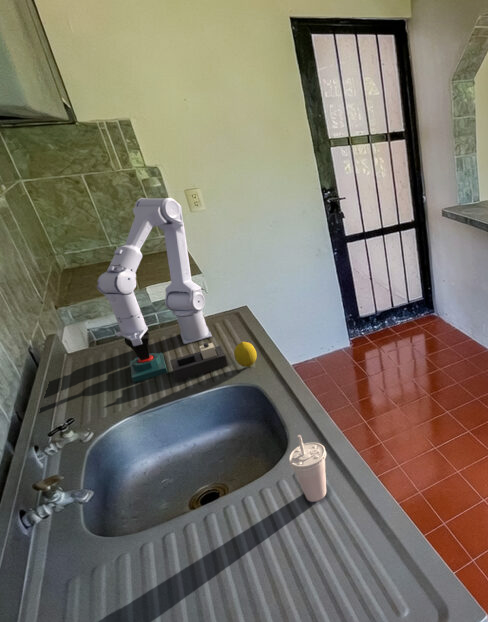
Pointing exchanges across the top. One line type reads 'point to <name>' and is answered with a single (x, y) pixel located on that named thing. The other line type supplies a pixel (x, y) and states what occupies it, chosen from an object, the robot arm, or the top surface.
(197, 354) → the dark grey slotted block
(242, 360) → the lemon
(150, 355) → the power button
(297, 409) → the top surface
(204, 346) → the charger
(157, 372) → the switch block
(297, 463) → the smoothie
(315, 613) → the top surface
